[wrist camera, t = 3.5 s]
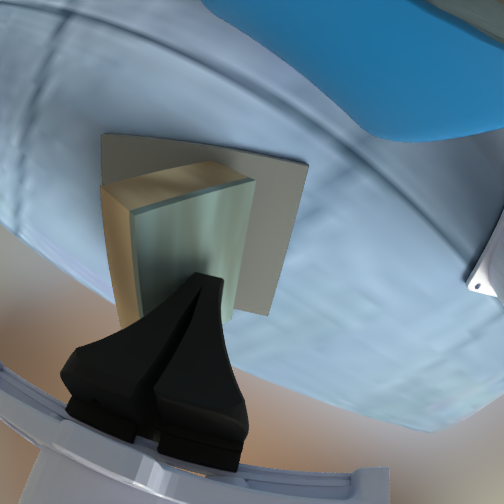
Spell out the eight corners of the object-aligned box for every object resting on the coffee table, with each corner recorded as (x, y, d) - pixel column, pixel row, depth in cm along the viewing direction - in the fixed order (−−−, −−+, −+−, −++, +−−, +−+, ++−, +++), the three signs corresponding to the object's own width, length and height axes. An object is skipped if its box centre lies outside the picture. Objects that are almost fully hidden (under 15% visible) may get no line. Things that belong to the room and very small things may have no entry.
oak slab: (256, 180, 13) (134, 215, 9) (231, 319, 18) (152, 370, 14) (211, 160, 14) (100, 186, 10) (199, 292, 19) (122, 334, 15)
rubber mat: (308, 164, 14) (308, 166, 14) (268, 312, 20) (267, 316, 20) (104, 133, 14) (101, 134, 14) (114, 273, 20) (112, 276, 20)
